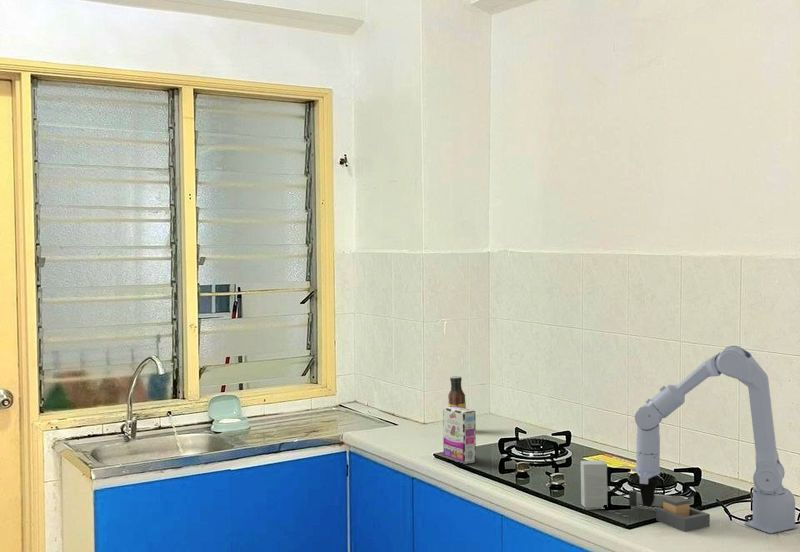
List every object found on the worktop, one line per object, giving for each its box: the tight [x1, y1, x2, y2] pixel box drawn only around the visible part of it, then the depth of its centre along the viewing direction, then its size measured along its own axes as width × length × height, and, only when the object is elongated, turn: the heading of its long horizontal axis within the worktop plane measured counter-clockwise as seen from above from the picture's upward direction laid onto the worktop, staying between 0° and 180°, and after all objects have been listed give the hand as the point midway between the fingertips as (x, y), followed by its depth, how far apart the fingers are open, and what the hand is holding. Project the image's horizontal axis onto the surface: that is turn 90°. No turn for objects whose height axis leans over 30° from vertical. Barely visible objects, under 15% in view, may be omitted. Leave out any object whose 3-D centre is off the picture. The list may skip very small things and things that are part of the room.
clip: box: [628, 489, 685, 508], centre depth 228 cm, size 14×2×4 cm, turn 63°
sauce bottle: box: [447, 375, 467, 409], centre depth 323 cm, size 7×6×20 cm
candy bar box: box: [442, 406, 477, 462], centre depth 282 cm, size 11×5×16 cm, turn 33°
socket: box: [655, 506, 711, 533], centre depth 220 cm, size 10×12×3 cm
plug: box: [662, 495, 691, 517], centre depth 221 cm, size 4×4×6 cm
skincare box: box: [580, 459, 608, 508], centre depth 232 cm, size 6×4×12 cm
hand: (647, 504), depth 228 cm, fingers closed
